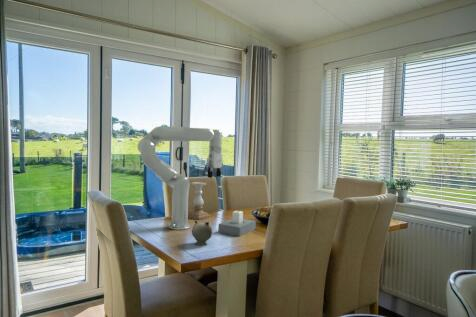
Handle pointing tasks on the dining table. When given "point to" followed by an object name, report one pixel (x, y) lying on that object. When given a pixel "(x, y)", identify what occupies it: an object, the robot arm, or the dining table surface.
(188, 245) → the dining table surface
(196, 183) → the candle holder
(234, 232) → the grey flat block
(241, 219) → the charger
